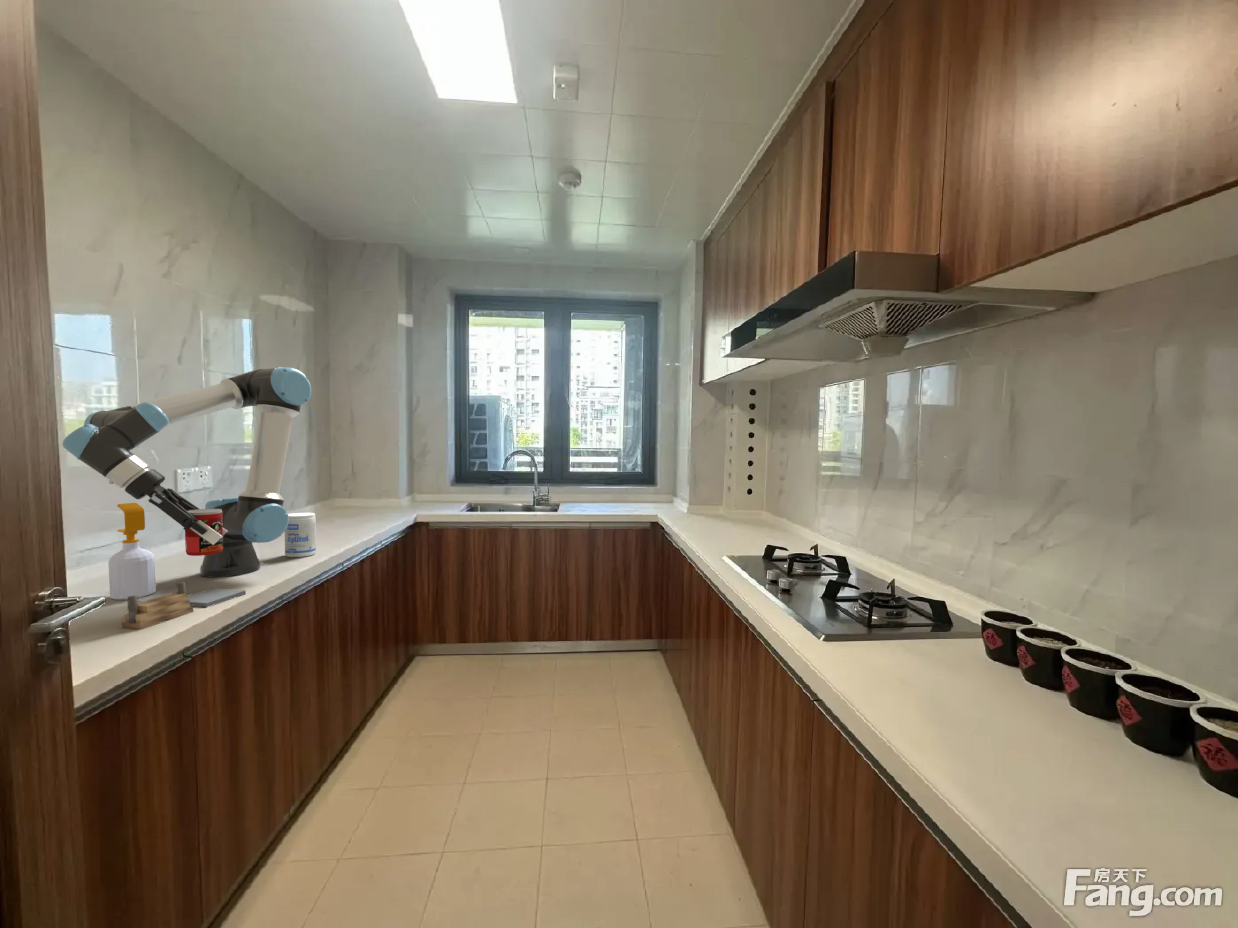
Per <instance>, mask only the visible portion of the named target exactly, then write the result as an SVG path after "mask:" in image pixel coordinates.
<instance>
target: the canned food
mask: <svg viewBox="0 0 1238 928" xmlns="http://www.w3.org/2000/svg"><path fill="white" fill-rule="evenodd" d="M188 512H189V513H190V514H191V515H192V516H193V517H195V518H196V519H197V520H198V521H199V520H201V521H202V522H203V523H205V524H206V525H208V526H209V527H210V528H212V529H213V530H215V531H216V532H217V533H219V534H220V535H222V536H223V520H222V510H221V509H205V508H199V509H197V510H189V511H188ZM198 521H197V522H198ZM190 528H191V527H190ZM190 528H189V529H188V530H185V529H184V538H185V539H184V541H185V542H184V543H185V544H184V545H185V553H186V555H188V556H191V557H192V556H193V557H199V556H200V557H201V556H205V555H211V554H216V553H220V552H222V550H223V537H222V538H220V539H219V540H218V541H217V542H216V543H215V544H214V545H213V544H211V543H210V542H208V541H207V540H205V539H204V538H203V537H201V536H200V535H198V534H197V533H195V532H194V531H193V530H191V529H190Z"/></svg>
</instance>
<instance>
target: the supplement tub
mask: <svg viewBox="0 0 1238 928" xmlns="http://www.w3.org/2000/svg"><path fill="white" fill-rule="evenodd" d="M288 516H289V522H288V526H287V528H286V530H285V531H284V555H285V556H286V557H288V558H305V557H310V556H313V555H315V554H316V552H317V532H316V531H317V528H316V527H317V521H316V520H317V518H316V514H315V513H314V512H296V513H293V512H292V513H288Z"/></svg>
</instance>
